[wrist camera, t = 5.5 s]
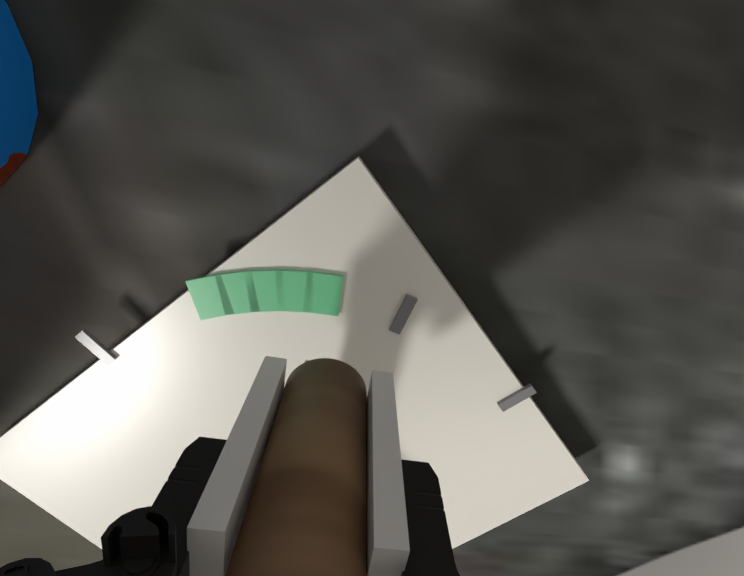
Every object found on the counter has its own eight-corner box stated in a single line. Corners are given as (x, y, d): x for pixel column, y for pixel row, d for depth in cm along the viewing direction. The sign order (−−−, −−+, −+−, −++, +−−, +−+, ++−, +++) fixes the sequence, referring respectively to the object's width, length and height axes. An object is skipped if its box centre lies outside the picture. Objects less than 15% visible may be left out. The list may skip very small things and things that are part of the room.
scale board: (254, 623, 27) (247, 654, 26) (-26, 421, 21) (-58, 444, 19) (581, 455, 22) (598, 480, 21) (345, 119, 16) (343, 117, 14)
